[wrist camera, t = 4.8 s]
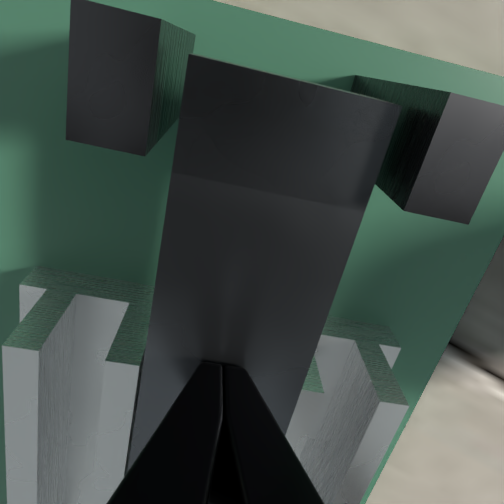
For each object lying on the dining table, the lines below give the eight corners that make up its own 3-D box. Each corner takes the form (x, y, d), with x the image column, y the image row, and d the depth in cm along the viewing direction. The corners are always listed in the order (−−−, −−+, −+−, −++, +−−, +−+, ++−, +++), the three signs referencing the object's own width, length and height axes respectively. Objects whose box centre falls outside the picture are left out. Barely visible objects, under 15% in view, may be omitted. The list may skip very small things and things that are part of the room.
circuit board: (296, 597, 21) (300, 627, 20) (-2, 573, 19) (-16, 605, 18) (542, 91, 11) (576, 95, 10) (-33, -59, 9) (-69, -74, 8)
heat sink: (263, 613, 19) (271, 771, 15) (33, 595, 18) (-29, 762, 14) (484, 107, 10) (668, 147, 6) (39, -5, 9) (-147, -60, 4)
